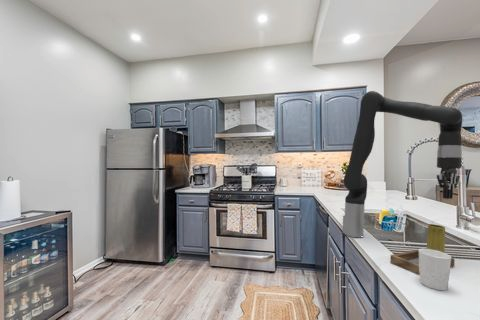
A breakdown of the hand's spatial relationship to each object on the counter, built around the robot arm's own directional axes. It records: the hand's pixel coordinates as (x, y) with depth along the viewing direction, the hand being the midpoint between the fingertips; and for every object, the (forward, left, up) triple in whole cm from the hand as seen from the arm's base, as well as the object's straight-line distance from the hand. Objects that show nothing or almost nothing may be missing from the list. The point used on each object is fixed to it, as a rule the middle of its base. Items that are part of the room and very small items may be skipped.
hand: (447, 198), depth 94 cm
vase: (0, -8, -25) cm, 26 cm away
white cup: (+10, -31, -25) cm, 41 cm away
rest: (0, -16, -25) cm, 30 cm away
